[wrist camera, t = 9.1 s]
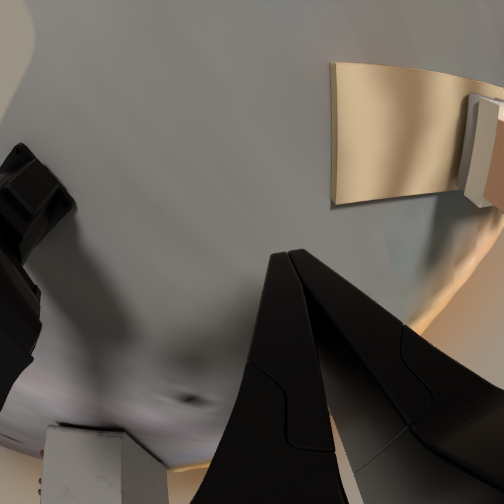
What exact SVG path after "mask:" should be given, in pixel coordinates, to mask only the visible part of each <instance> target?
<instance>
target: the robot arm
mask: <svg viewBox="0 0 504 504" xmlns="http://www.w3.org/2000/svg"><path fill="white" fill-rule="evenodd" d="M18 148H20V149H21V153H20V152H19V150H18ZM65 202H68V203H69V205H67V204H66V203H65ZM73 205H74V201H73V199H72V198H71V197H70V195H69V194H68V193H67V192H66V191H65V190H64V189H63V188H62V187H61V186H60V185H59V184H58V181H57V180H56V179H55V178H54V177H53V176H52V175H51V174H50V173H49V171H48V170H47V169H46V168H45V167H44V166H43V165H42V163H41V162H40V161H39V160H38V159H36V158H35V156H34V155H33V154H32V153H31V152H30V150H29V149H28V148H27V147H26V146H25V145H24V144H23V143H19V144H17V145H16V146H15V147H14V148H13V149H12V151H11V152H10V154H9V155H8V156H7V158H6V159H5V161H4V162H3V164H2V165H1V167H0V412H1V410H2V408H3V405H4V403H5V401H6V398H7V396H8V394H9V391H10V389H11V387H12V385H13V384H14V382H15V381H16V379H17V378H18V377H19V375H20V374H21V372H22V371H23V370H24V369H25V368H27V367H28V366H29V365H30V364H31V363H32V362H33V360H34V358H33V356H32V355H31V354H32V352H33V350H34V348H35V346H36V343H37V340H38V338H39V335H40V332H41V329H42V323H41V321H40V320H39V319H40V298H41V291H40V289H39V288H38V286H37V285H34V283H33V282H32V280H31V279H30V277H29V276H28V274H27V273H26V271H25V270H24V268H23V265H24V263H25V262H26V260H27V258H28V256H29V255H30V253H31V251H32V250H33V248H35V246H36V245H37V244H38V243H39V242H40V241H41V240H42V239H43V238H44V237H45V235H46V234H47V233H48V232H49V231H50V230H51V229H52V228H53V227H54V226H55V225H56V224H57V223H58V222H59V221H60V220H61V219H62V218H63V217H64V216H65V215H66V214H67V213H68V212H69V211H70V210H71V208H72V207H73ZM327 403H328V405H327ZM328 406H329V409H330V411H331V414H332V417H333V419H334V422H335V425H336V427H337V430H338V433H339V436H340V438H341V441H342V444H343V446H344V449H345V452H346V455H347V457H348V460H349V463H350V465H351V468H352V471H353V473H354V477H355V480H356V483H357V485H358V488H359V491H360V494H361V497H362V500H363V502H364V504H504V390H503V389H500V388H498V387H496V386H494V385H492V384H491V383H490V382H488V381H486V380H485V379H483V378H482V377H480V376H479V375H477V374H476V373H474V372H473V371H471V370H469V369H468V368H466V367H465V366H463V365H462V364H460V363H458V362H457V361H455V360H454V359H452V358H451V357H449V356H447V355H446V354H445V353H443V352H442V351H440V350H439V349H437V348H436V347H434V346H433V345H432V344H430V343H429V342H428V341H426V340H425V339H424V338H422V337H421V336H420V335H418V334H417V333H416V332H414V331H413V330H412V329H410V328H409V327H408V326H407V325H403V323H402V322H401V321H400V320H399V319H397V318H396V317H395V316H393V315H392V314H391V313H390V312H388V311H387V310H386V309H384V308H383V307H382V306H380V305H379V304H378V303H376V302H375V301H374V300H372V299H371V298H370V297H369V296H367V295H366V294H365V293H363V292H362V291H361V290H359V289H358V288H357V287H355V286H354V285H353V284H351V283H350V282H348V281H347V280H346V279H344V278H343V277H342V276H340V275H339V274H338V273H336V272H335V271H334V270H332V269H331V268H330V267H328V266H327V265H325V264H324V263H323V262H321V261H320V260H319V259H317V258H316V257H314V256H313V255H312V254H310V253H309V252H308V251H306V250H305V249H297V250H291V251H289V252H288V253H287V252H279V253H274V254H271V255H270V259H269V264H268V268H267V273H266V277H265V282H264V287H263V291H262V296H261V300H260V305H259V309H258V314H257V318H256V322H255V327H254V331H253V336H252V340H251V344H250V349H249V353H248V358H247V363H246V365H245V369H244V374H243V378H242V381H241V385H240V389H239V392H238V396H237V399H236V402H235V405H234V408H233V410H232V413H231V416H230V419H229V421H228V424H227V426H226V429H225V431H224V433H223V436H222V438H221V440H220V443H219V445H218V447H217V450H216V452H215V454H214V457H213V459H212V461H211V464H210V466H209V468H208V470H207V473H206V475H205V477H204V479H203V481H202V483H201V485H200V487H199V489H198V491H197V492H196V494H195V496H194V497H193V499H192V500H191V502H190V504H349V503H348V499H347V496H346V494H345V491H344V488H343V485H342V481H341V477H340V473H339V468H338V463H337V458H336V454H335V445H334V439H333V434H332V427H331V422H330V416H329V411H328Z"/></svg>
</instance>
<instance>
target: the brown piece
mask: <svg viewBox="0 0 504 504" xmlns="http://www.w3.org/2000/svg"><path fill="white" fill-rule="evenodd" d="M456 186H457V187H458V188H459V189H460V190H461V191H463V192H464V195H465V196H466V197H467V198H468V199H470V200H471V201H472V202H473V203H474V204H476V205H477V206H478V207H479V208H481V207H488V206H495V207H496V208H497V209H499V210H500V211H501V212H502V213H503V214H504V100H502V99H499V98H494V99H492V98H490V97H487V96H484V95H481V94H477V93H473V92H469V100H468V111H467V121H466V129H465V136H464V143H463V150H462V156H461V161H460V167H459V172H458V177H457V182H456Z"/></svg>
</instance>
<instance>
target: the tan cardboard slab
mask: <svg viewBox="0 0 504 504" xmlns="http://www.w3.org/2000/svg"><path fill="white" fill-rule="evenodd" d="M330 78H331V109H332V175H331V199H332V200H333V202H334V203H335V204H336V205H337V204H345V203H352V202H359V201H367V200H375V199H383V198H391V197H399V196H407V195H416V194H425V193H434V192H443V191H453V190H460V189H459V188H458V187H457V186H456V182H457V177H458V172H459V167H460V161H461V156H462V150H463V143H464V136H465V129H466V121H467V111H468V100H469V92H473V93H477V94H481V95H484V96H487V97H490V98H492V99H494V98H499V99H502V100H504V88H501V87H498V86H494V85H491V84H487V83H484V82H480V81H476V80H472V79H468V78H463V77H459V76H454V75H449V74H444V73H439V72H433V71H427V70H420V69H414V68H406V67H398V66H388V65H377V64H363V63H338V62H330Z"/></svg>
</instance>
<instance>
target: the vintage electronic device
mask: <svg viewBox="0 0 504 504" xmlns="http://www.w3.org/2000/svg"><path fill="white" fill-rule="evenodd" d="M40 454H41V456H42V457H43V466H42V478H40V479H39V483H40V484H41V489H39V490H38V493H39V495H41V499H40V501H41V502H40V504H169V501H168V488H167V472H166V468H165V466H163V465H162V464H161V463H160V461H159V460H156V459H155V458H153V457H152V456H151V455H150V454H149V453H147V452H146V451H145V450H144V449H143V448H142V447H140V446H139V445H138V444H137V443H136V442H135V441H134V440H132V439H131V438H130V437H129V436H128V435H127V434H126V432H125V429H123V428H119V427H114V428H113V431H112V432H109V431H96V430H86V429H77V428H72V425H70V424H68V423H65V422H62V423H61V425H60V426H56V425H48V427H47V431H46V439H45V446H44V450H41V452H40Z"/></svg>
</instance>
